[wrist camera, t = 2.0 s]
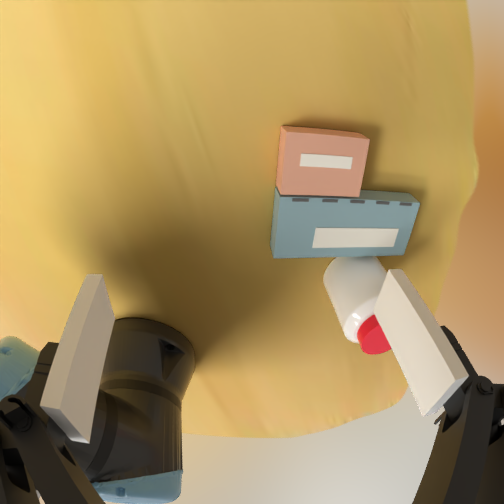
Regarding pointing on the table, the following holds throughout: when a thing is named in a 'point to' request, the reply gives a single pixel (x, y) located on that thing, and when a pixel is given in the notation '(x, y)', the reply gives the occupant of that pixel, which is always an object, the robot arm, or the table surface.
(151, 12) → the table surface
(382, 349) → the pill bottle
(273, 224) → the blue labeled box
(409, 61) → the table surface
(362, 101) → the table surface
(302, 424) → the table surface
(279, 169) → the pink labeled box
